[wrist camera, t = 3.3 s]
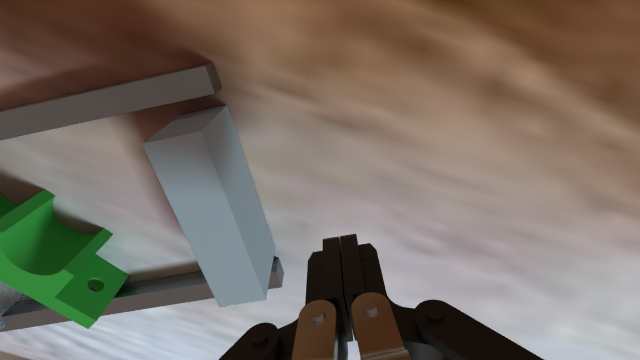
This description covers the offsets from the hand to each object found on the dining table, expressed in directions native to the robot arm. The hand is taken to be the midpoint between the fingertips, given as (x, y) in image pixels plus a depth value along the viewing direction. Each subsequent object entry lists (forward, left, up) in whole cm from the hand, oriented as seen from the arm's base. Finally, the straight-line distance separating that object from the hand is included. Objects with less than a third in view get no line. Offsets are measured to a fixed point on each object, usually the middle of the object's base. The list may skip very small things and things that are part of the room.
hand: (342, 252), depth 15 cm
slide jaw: (0, -7, -8) cm, 11 cm away
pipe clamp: (+1, -20, -9) cm, 22 cm away
